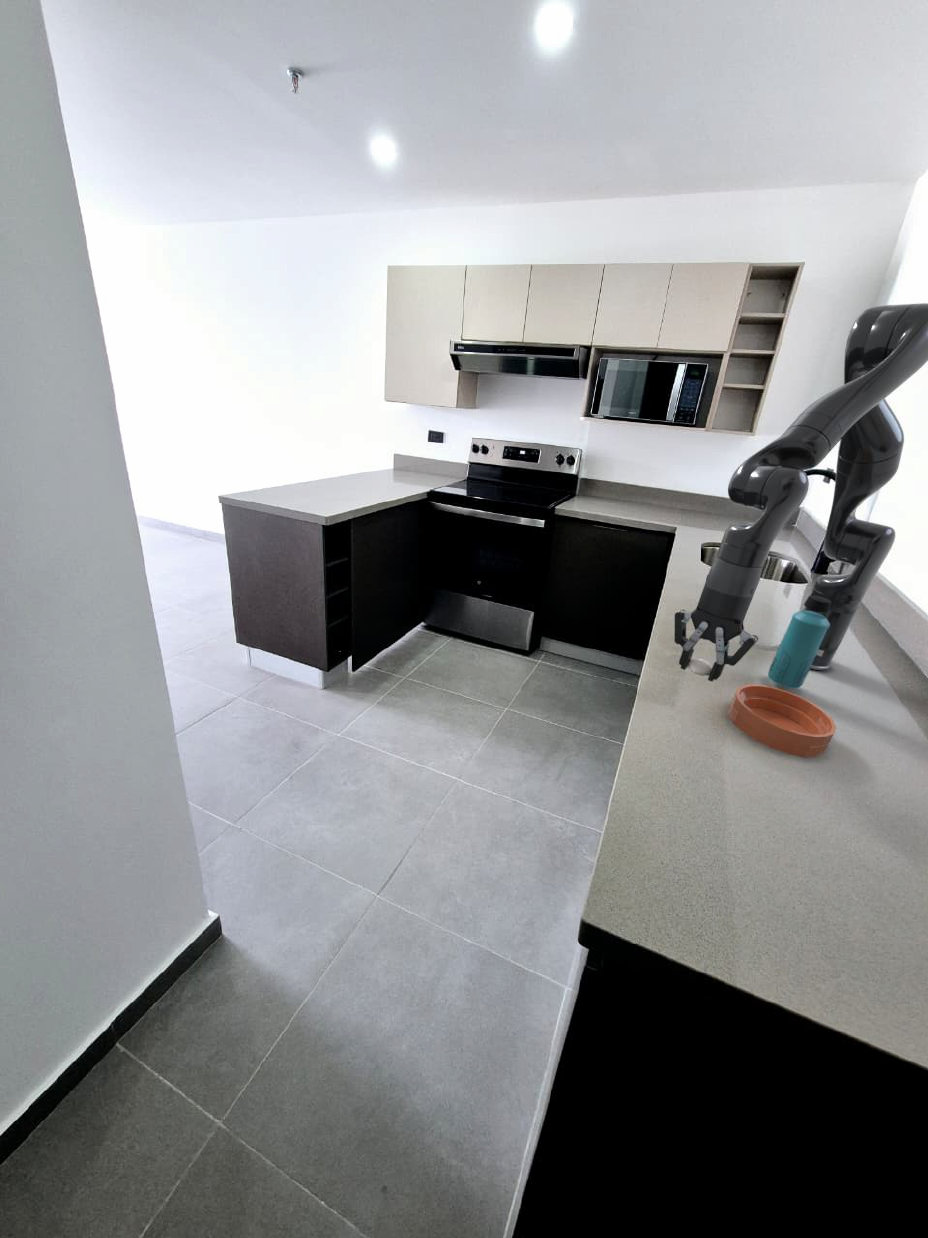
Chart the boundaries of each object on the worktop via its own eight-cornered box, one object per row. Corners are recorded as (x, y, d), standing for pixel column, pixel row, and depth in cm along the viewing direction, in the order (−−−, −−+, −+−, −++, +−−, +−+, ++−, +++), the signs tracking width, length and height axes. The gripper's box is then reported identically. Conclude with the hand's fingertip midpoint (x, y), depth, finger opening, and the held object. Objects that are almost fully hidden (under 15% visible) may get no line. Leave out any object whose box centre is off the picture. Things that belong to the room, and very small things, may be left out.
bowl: (741, 695, 96) (749, 675, 94) (830, 734, 87) (842, 713, 85) (716, 724, 85) (725, 703, 83) (815, 772, 76) (828, 749, 74)
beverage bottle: (804, 698, 98) (848, 607, 89) (769, 691, 99) (810, 600, 90) (791, 681, 104) (831, 595, 95) (758, 675, 104) (795, 589, 96)
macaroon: (713, 675, 89) (718, 663, 88) (704, 683, 85) (709, 671, 84) (690, 665, 91) (694, 653, 90) (680, 673, 88) (684, 661, 87)
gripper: (781, 596, 80) (744, 684, 87) (695, 570, 88) (667, 652, 95) (770, 606, 75) (731, 698, 82) (679, 576, 83) (651, 663, 90)
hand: (697, 673), depth 88 cm, fingers closed on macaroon, 4 cm apart
